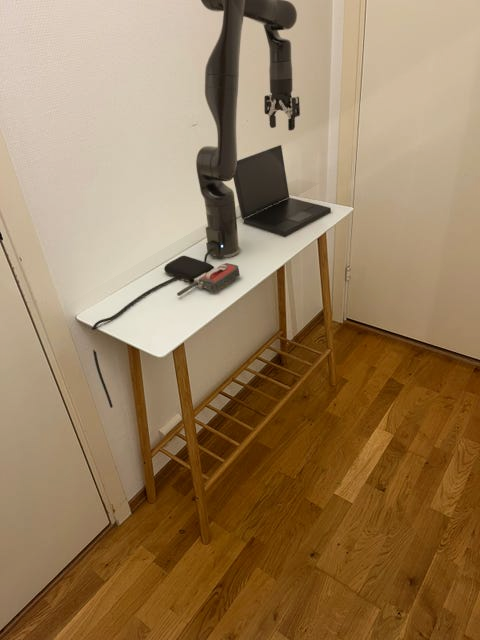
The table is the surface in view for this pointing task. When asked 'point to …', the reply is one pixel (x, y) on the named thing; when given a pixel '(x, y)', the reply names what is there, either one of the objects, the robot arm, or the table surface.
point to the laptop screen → (260, 181)
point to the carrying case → (187, 268)
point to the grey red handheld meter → (215, 278)
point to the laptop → (287, 216)
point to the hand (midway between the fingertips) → (282, 128)
